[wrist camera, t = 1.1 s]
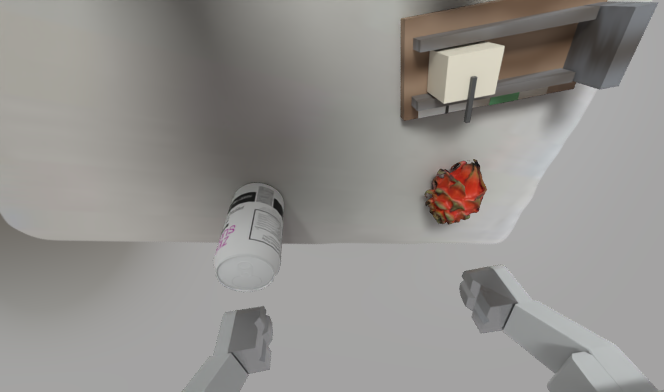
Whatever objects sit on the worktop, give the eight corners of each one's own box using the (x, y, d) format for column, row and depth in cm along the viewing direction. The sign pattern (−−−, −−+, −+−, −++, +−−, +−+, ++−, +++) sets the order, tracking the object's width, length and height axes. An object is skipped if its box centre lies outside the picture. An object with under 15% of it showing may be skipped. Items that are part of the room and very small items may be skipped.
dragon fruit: (418, 204, 51) (450, 145, 46) (462, 225, 49) (500, 166, 44) (411, 218, 44) (447, 150, 39) (462, 245, 41) (508, 176, 36)
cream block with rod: (429, 49, 32) (450, 57, 28) (479, 39, 32) (507, 46, 28) (426, 111, 37) (443, 127, 32) (469, 103, 37) (492, 117, 32)
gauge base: (400, 18, 31) (425, 23, 25) (603, -21, 31) (675, -25, 25) (400, 116, 39) (419, 138, 33) (565, 85, 39) (614, 102, 33)
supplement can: (284, 219, 48) (280, 293, 36) (236, 218, 47) (215, 295, 35) (284, 181, 43) (279, 252, 31) (230, 179, 42) (204, 252, 30)
